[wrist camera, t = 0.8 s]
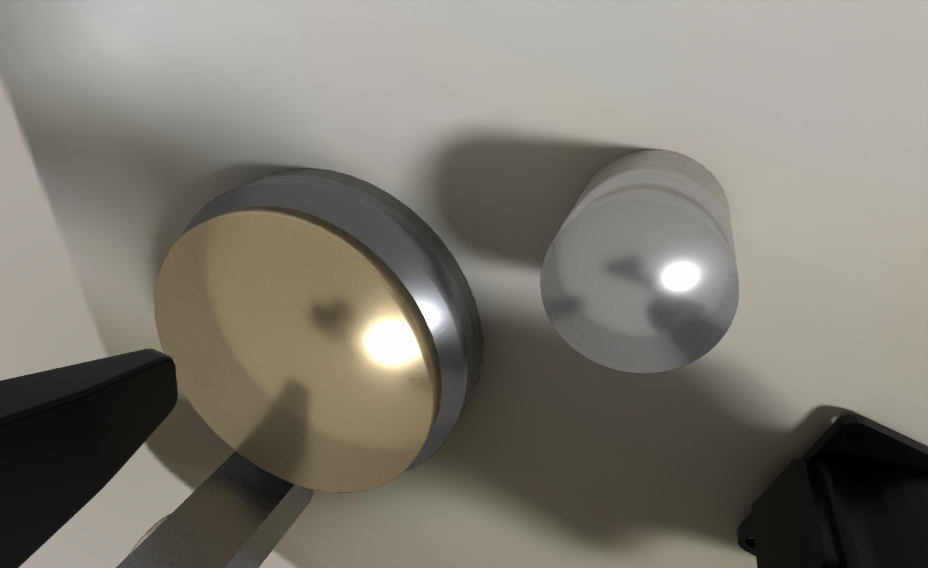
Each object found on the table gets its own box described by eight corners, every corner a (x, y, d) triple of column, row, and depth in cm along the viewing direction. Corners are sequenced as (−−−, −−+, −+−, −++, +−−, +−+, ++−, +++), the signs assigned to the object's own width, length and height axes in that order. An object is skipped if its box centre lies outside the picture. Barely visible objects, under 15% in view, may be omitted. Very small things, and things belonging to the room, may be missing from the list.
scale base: (531, 259, 20) (424, 425, 12) (402, 553, 28) (292, 756, 21) (223, 114, 21) (-40, 178, 14) (191, 432, 30) (19, 578, 23)
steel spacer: (761, 187, 16) (781, 252, 12) (682, 310, 19) (677, 402, 14) (614, 125, 17) (585, 166, 13) (555, 251, 19) (514, 322, 15)
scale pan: (486, 298, 18) (475, 313, 17) (395, 519, 24) (384, 538, 23) (184, 151, 20) (160, 158, 19) (168, 391, 25) (149, 404, 24)
